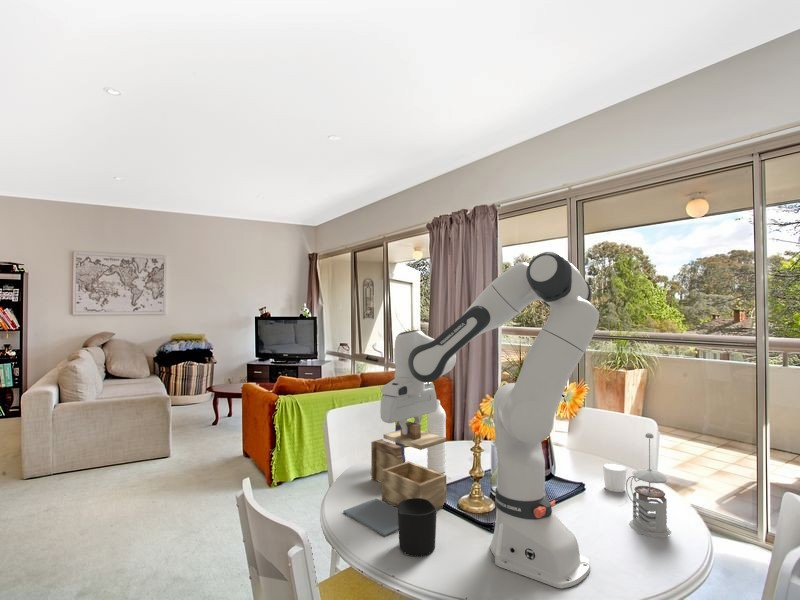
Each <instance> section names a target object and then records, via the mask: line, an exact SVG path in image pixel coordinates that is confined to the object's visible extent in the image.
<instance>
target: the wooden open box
mask: <svg viewBox="0 0 800 600" xmlns="http://www.w3.org/2000/svg"><path fill="white" fill-rule="evenodd" d="M410 498H423V499H426V500H428V501H430V502H431V503H432V504H433V505H434V507H435V508H437V511H439V510H442V509H444V508H443V505H444V503H446V504H447V474H444V473H439V472H436V471H433V470H431V469H428V468H427V467H425V466H423V465H420V464H417V463H414V462H412V461H405V463H402V464H399V465H396V466H393V467H390V468H386V469H383V470H382V482H381V501H383V502H385V503H387V504H389V505H391V506H393V507H395V508H398V505H399V503H400V502H401V501H403V500H406V499H410Z"/></svg>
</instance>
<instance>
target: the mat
mask: <svg viewBox="0 0 800 600" xmlns="http://www.w3.org/2000/svg"><path fill="white" fill-rule="evenodd" d="M342 513H343V514H345V515H347V516H348V517H350V518H352V519H353V520H355V521H357V522H359V523H360V524H362V525H363V526H366V527H367V528H369V529H370V530H372V531H374V532H376V533H378V534H380V536H382V537H384V538H386V537H388V536H390V535H392V534H394V533H398V532H399V528H398V507H396V506H393V505H391V504H389V503H387V502H385V501H383V500H382V499H381V500H380V499H378V498H374V499H373V498H372V499H371V500H368V501H365V502H363V503H361V504H358V505H355V506H352V507H349V508H347V509H344V510H343V511H342Z"/></svg>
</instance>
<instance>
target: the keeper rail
mask: <svg viewBox="0 0 800 600" xmlns="http://www.w3.org/2000/svg"><path fill="white" fill-rule="evenodd" d="M379 440H383V441H384V438H383V439H382V438H381V439H377V440H374V441H371V442H370V443H371V456H370V457H371V465H370V466H371V471H370V472H371V481H373V482H375V481H378V482H379V483H382V470H383V469H386V468H390V467H393V466H396V465H399V464H402V463H403V456H402V455H398V456H394V455H391V454H388V453H386V452H383V451H380V450H378V449H376V441H379Z"/></svg>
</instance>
